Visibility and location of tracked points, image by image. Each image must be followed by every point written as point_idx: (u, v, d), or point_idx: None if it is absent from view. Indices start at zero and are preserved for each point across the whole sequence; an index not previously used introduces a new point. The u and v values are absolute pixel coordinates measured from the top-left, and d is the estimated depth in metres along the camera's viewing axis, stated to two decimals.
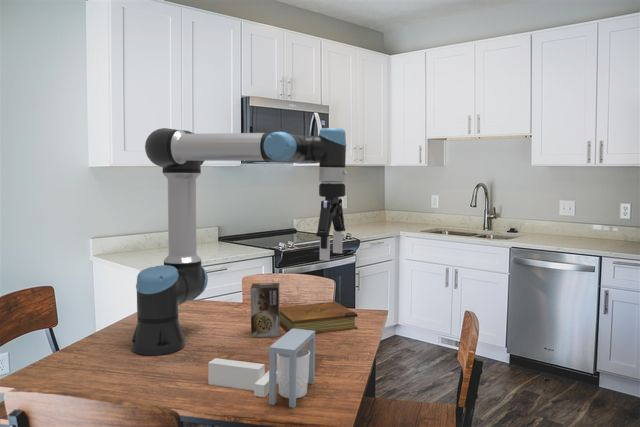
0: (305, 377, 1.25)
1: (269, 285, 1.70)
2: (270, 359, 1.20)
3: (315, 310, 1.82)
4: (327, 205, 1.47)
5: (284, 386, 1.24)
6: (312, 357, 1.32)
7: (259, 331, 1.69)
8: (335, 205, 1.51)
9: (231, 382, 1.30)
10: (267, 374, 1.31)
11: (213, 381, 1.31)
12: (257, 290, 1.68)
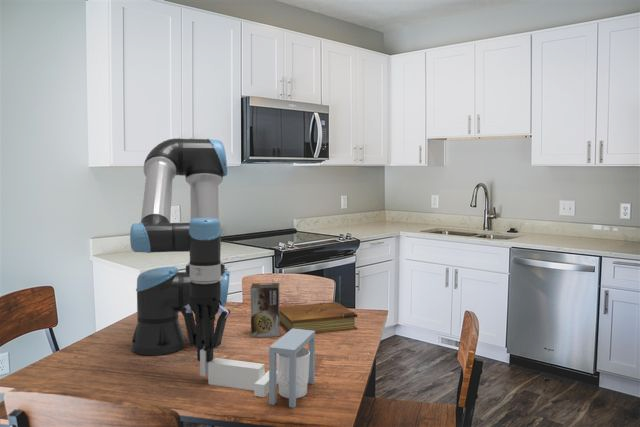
0: (305, 377, 1.25)
1: (269, 285, 1.70)
2: (270, 359, 1.20)
3: (315, 310, 1.82)
4: None
5: (284, 386, 1.24)
6: (312, 357, 1.32)
7: (259, 331, 1.69)
8: None
9: (231, 382, 1.30)
10: (267, 374, 1.31)
11: (213, 381, 1.31)
12: (257, 290, 1.68)
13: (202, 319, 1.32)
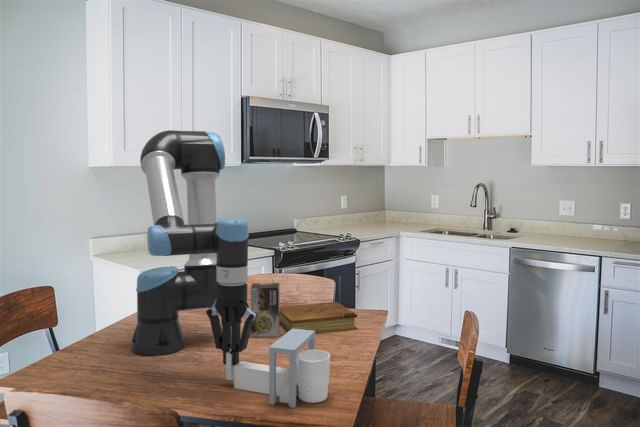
0: (325, 381, 1.22)
1: (269, 285, 1.70)
2: (270, 359, 1.20)
3: (315, 310, 1.82)
4: None
5: (304, 390, 1.22)
6: None
7: (259, 331, 1.69)
8: None
9: (256, 386, 1.27)
10: None
11: (239, 384, 1.29)
12: (257, 290, 1.68)
13: (228, 322, 1.30)
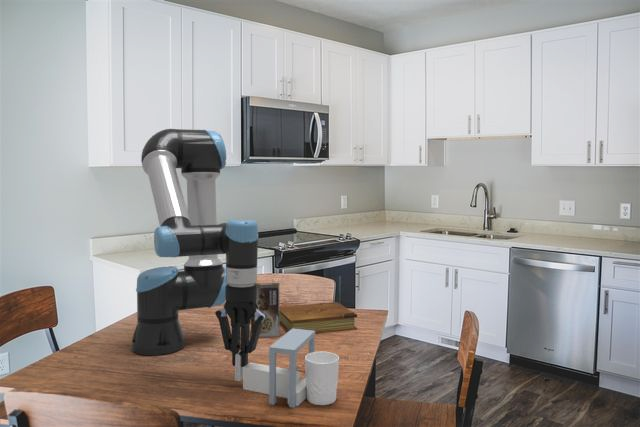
0: (334, 383, 1.21)
1: (269, 285, 1.70)
2: (270, 359, 1.20)
3: (315, 310, 1.82)
4: None
5: (313, 392, 1.21)
6: None
7: None
8: None
9: (265, 388, 1.26)
10: (302, 381, 1.26)
11: (247, 386, 1.28)
12: (257, 290, 1.68)
13: (237, 323, 1.30)
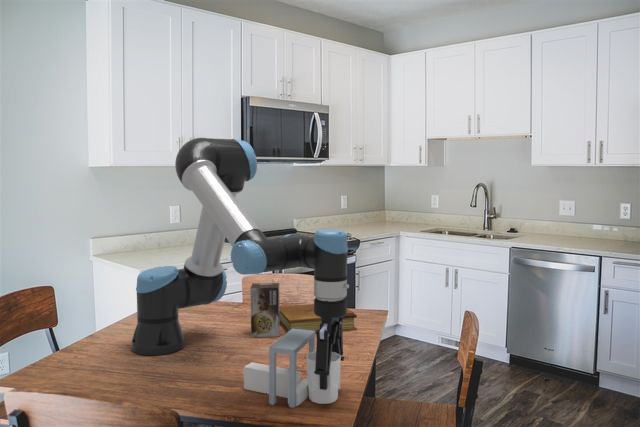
0: (336, 382, 1.22)
1: (269, 285, 1.70)
2: (270, 359, 1.20)
3: None
4: (324, 336, 1.16)
5: (315, 391, 1.21)
6: None
7: (259, 331, 1.69)
8: (334, 328, 1.20)
9: (266, 388, 1.26)
10: (303, 381, 1.26)
11: (248, 386, 1.29)
12: (257, 290, 1.68)
13: None
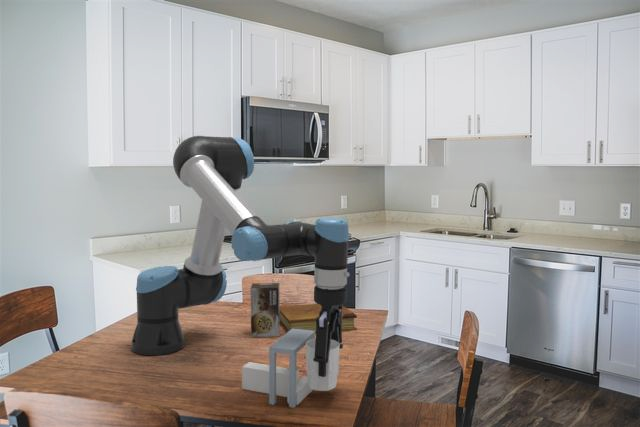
0: (335, 369, 1.22)
1: (269, 285, 1.70)
2: (270, 359, 1.20)
3: (315, 310, 1.82)
4: (323, 324, 1.16)
5: (313, 378, 1.22)
6: None
7: (259, 331, 1.69)
8: (334, 316, 1.21)
9: (264, 387, 1.27)
10: (301, 380, 1.27)
11: (246, 385, 1.29)
12: (257, 290, 1.68)
13: None
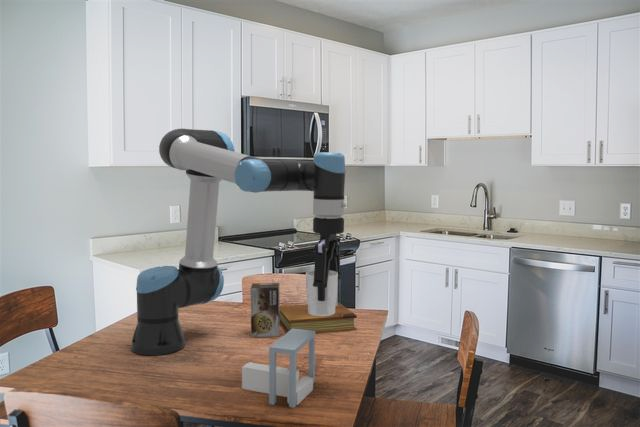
0: (333, 296, 1.29)
1: (269, 285, 1.70)
2: (270, 359, 1.20)
3: None
4: (322, 249, 1.23)
5: (313, 304, 1.29)
6: (312, 357, 1.32)
7: (259, 331, 1.69)
8: (332, 244, 1.27)
9: (264, 387, 1.27)
10: (301, 380, 1.27)
11: (246, 385, 1.29)
12: (257, 290, 1.68)
13: None
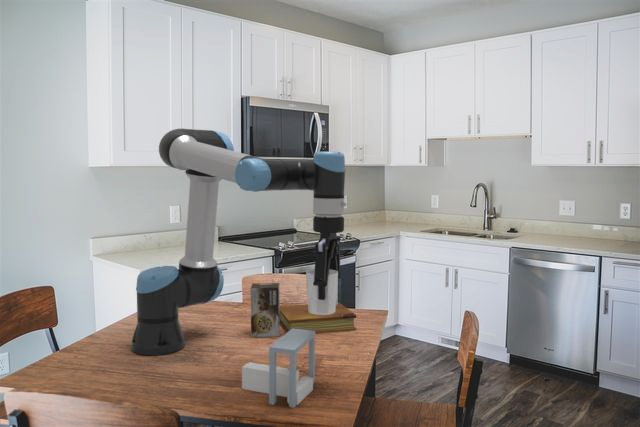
0: (334, 295, 1.29)
1: (269, 285, 1.70)
2: (270, 359, 1.20)
3: None
4: (322, 248, 1.24)
5: (314, 303, 1.29)
6: (312, 357, 1.32)
7: (259, 331, 1.69)
8: (332, 243, 1.28)
9: (264, 387, 1.27)
10: (301, 380, 1.27)
11: (246, 385, 1.29)
12: (257, 290, 1.68)
13: None
